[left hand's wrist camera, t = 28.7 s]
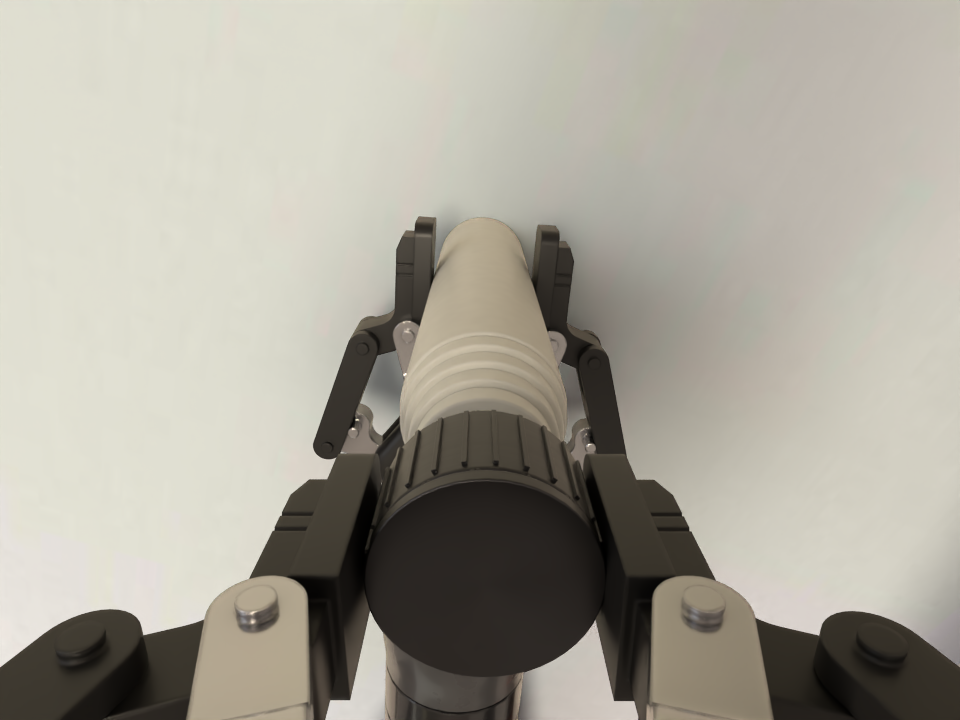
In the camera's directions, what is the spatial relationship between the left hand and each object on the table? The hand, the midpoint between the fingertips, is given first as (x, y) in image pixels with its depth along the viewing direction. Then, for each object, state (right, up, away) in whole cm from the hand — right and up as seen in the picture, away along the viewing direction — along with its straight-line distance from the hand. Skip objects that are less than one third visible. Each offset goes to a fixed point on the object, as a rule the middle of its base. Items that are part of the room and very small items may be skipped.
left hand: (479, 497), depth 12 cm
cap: (0, -1, -2) cm, 2 cm away
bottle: (0, +8, +20) cm, 22 cm away
